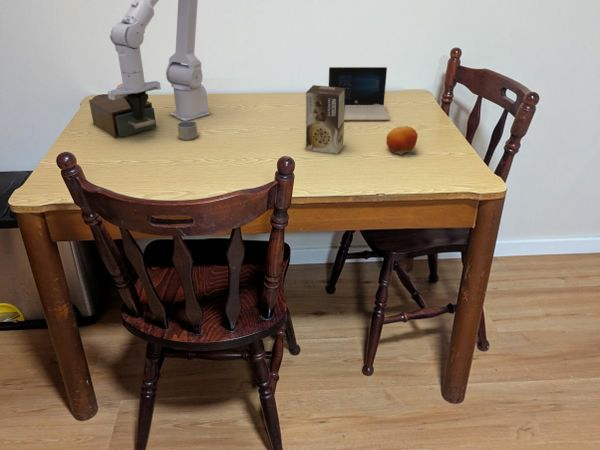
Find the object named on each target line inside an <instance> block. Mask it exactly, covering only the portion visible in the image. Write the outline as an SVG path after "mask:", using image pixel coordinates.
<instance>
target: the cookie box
mask: <svg viewBox="0 0 600 450" xmlns="http://www.w3.org/2000/svg"><path fill="white" fill-rule="evenodd" d="M345 106H346V105H345V88H339V87H329V85H328V86H326V85H316V84H313V85H311V87H310V88H309V89H308V90H307V91H306V92H305V150H306V151H312V152H321V153H327V154H336V155H338V154H339V153H340V151H341V150H342V149H343V148H344V136H345V135H344V134H345V121H344V111H345Z"/></svg>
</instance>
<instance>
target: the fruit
mask: <svg viewBox="0 0 600 450" xmlns="http://www.w3.org/2000/svg"><path fill="white" fill-rule="evenodd" d="M417 142H418V132H417V130H415V129H414V128H413V127H410V126H409V125H407V126H406V125H403V126H397V127H395V128H392V129H391V130H390V131H389V132H388V133H387V134H386V146H387V147H388V150H389V151H390V152H392V153H394V154H398V155H400V156H402V155H403V154H404V153H412V154H414V149H415V147H416V145H417Z"/></svg>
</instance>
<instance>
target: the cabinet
mask: <svg viewBox="0 0 600 450" xmlns="http://www.w3.org/2000/svg"><path fill="white" fill-rule="evenodd" d="M88 103H89V108H90V113H91V119H92V124H93V125H94V126H96V127H98V128H99V129H101V131H104V132H106V133H107V134H108V135H109V136H112V137H113V138H115V139H117V138H121V137H120V136H119V135H118V132H117V129H116V124H115V118H114V114H118V113H122V112H127V111H131V110H132V109H131V107H130V106H129V104H128V103H127V101H126V100H125V98H124V97H120V98H116V99H115V100H111V99H109V97H108V95H105V96H100V97H96V98H92V99H88ZM145 107H148V108H150V107H152V108H153V103H152V102H150V101H148V100H147V102H146V105H145Z"/></svg>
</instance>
